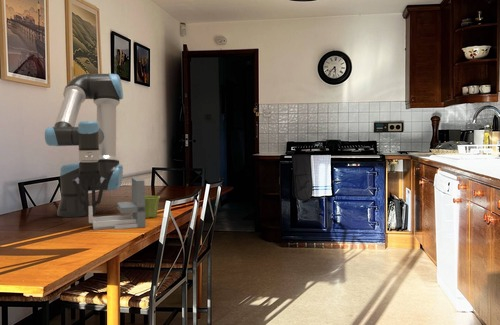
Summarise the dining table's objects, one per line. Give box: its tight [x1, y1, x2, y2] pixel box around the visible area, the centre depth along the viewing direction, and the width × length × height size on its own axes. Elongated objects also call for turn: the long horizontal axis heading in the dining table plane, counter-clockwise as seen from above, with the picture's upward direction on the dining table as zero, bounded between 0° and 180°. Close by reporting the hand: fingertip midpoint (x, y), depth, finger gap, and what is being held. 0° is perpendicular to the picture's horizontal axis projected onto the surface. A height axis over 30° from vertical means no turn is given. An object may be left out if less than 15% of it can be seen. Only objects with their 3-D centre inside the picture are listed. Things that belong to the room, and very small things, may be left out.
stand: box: [113, 176, 147, 230], centre depth 196 cm, size 16×12×18 cm
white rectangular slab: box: [91, 214, 137, 231], centre depth 195 cm, size 12×16×3 cm
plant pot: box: [145, 195, 161, 219], centre depth 214 cm, size 9×9×9 cm
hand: (90, 222), depth 192 cm, fingers closed
